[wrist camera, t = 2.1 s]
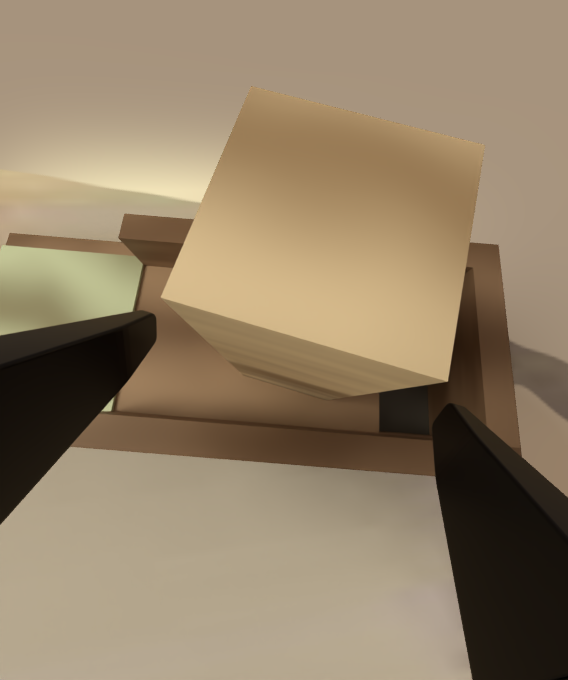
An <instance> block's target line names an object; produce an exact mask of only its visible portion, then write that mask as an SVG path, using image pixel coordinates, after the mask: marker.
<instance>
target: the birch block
mask: <svg viewBox="0 0 568 680" xmlns="http://www.w3.org/2000/svg"><path fill="white" fill-rule="evenodd" d="M484 148H485V145H482V144H478V143H474V142H471V141H467V140H463V139H459V138H454V137H451V136H447V135H443V134H439V133H435V132H431V131H427V130H423V129H419V128H415V127H411V126H407V125H403V124H399V123H395V122H391V121H387V120H383V119H379V118H375V117H371V116H368V115H364V114H360V113H356V112H352V111H348V110H344V109H340V108H336V107H331V106H328V105H324V104H320V103H316V102H312V101H308V100H304V99H300V98H296V97H292V96H288V95H284V94H280V93H276V92H272V91H268V90H264V89H260V88H257V87H253V86H251V88H250V90H249V93H248V95H247V97H246V100H245V102H244V104H243V107H242V109H241V111H240V114H239V116H238V118H237V121H236V123H235V125H234V127H233V130H232V132H231V135H230V137H229V139H228V142H227V144H226V146H225V148H224V151H223V153H222V155H221V158H220V160H219V162H218V165H217V167H216V169H215V172H214V174H213V176H212V179H211V181H210V184H209V186H208V188H207V191H206V193H205V195H204V198H203V200H202V202H201V204H200V207H199V209H198V211H197V214H196V216H195V218H194V221H193V223H192V225H191V228H190V230H189V232H188V235H187V237H186V239H185V242H184V244H183V246H182V249H181V251H180V253H179V256H178V258H177V260H176V263H175V265H174V267H173V270H172V272H171V274H170V277H169V279H168V281H167V284H166V286H165V288H164V291H163V293H162V295H161V298H162V299H163V300H164V301H165V302H166V303H167V304H168V305H169V306H170V307H171V308H172V309H173V310H174V311H175V312H176V313H177V314H178V315H180V316H181V317H182V318H183V319H184V320H185V321H186V322H187V323H188V324H189V325H190V326H191V327H192V328H193V329H194V330H195V331H196V332H198V333H199V334H200V335H201V336H202V337H203V338H204V339H205V340H206V341H207V342H208V343H209V344H210V345H211V346H212V347H213V348H215V349H216V350H217V351H218V352H219V353H220V354H221V355H222V356H223V357H224V358H225V359H226V360H227V361H228V362H229V363H230V364H231V365H233V366H234V367H235V368H236V369H237V370H238V371H239V372H240V373H241V374H242V375H243V376H246V377H250V378H253V379H256V380H260V381H263V382H266V383H270V384H273V385H276V386H280V387H283V388H286V389H289V390H293V391H296V392H299V393H303V394H306V395H309V396H313V397H316V398H319V399H323V400H332V399H339V398H345V397H352V396H358V395H365V394H371V393H378V392H384V391H391V390H397V389H404V388H410V387H417V386H423V385H430V384H436V383H442V382H448V377H449V371H450V364H451V358H452V352H453V345H454V339H455V333H456V326H457V320H458V314H459V307H460V301H461V294H462V288H463V282H464V275H465V269H466V263H467V256H468V250H469V244H470V237H471V231H472V224H473V218H474V212H475V205H476V199H477V192H478V186H479V180H480V173H481V167H482V161H483V154H484Z"/></svg>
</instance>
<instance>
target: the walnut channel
mask: <svg viewBox="0 0 568 680" xmlns="http://www.w3.org/2000/svg"><path fill="white" fill-rule="evenodd" d="M193 221H194V219H182V218H170V217H158V216H146V215H134V214H124V217H123V221H122V226H121V230H120V234H119V239H120V240H121V241H122V242H112V241H100V240H88V239H76V238H64V237H51V236H39V235H27V234H15V233H10V234H9V237H8V240H7V243H6V245H2V247H1V250H0V335H5V334H10V333H16V332H21V331H27V330H33V329H38V328H44V327H49V326H55V325H60V324H66V323H71V322H77V321H83V320H88V319H94V318H99V317H105V316H110V315H116V314H121V313H127V312H133V311H138V310H144V311H147V312H151V313H153V314H155V316H156V320H157V339H156V342H155V344H154V345H153V347H152V348H151V350H150V351H149V353H148V354H147V355H146V357H145V358H144V360H143V361H142V362H141V364H140V365H139V367H138V368H137V369H136V371H135V372H134V374H133V375H132V376H131V378H130V379H129V380H128V382H127V383H126V384H125V385H124V386H123V388H122V389H121V390H120V391H119V392H118V393H117V394H116V395H115V396H114V398H113V399H112V400H111V401H110V402H109V403H108V404H107V405H106V407H105V408H104V409H103V410H102V411H101V412H100V413H99V414H98V416H97V417H96V418H95V419H94V420H93V421H92V422H91V423H90V425H89V426H88V427H87V428H86V429H85V430H84V431H83V432H82V434H81V435H80V436H79V437H78V438H77V439H76V440H75V441H74V443H73V444H72V445H71V446H70V447H81V448H94V449H106V450H118V451H131V452H143V453H155V454H168V455H180V456H192V457H205V458H217V459H230V460H242V461H254V462H267V463H279V464H291V465H304V466H316V467H328V468H341V469H353V470H365V471H378V472H390V473H402V474H415V475H427V476H435V467H434V453H433V439H432V424H433V422H434V420H435V419H436V417H437V416H438V415H439V413H440V412H441V411H442V409H443V408H444V407H445V405H446V404H448V403H454V404H457V405H461V406H464V407H465V408H467V409H468V410H469V411H470V412H471V413H472V414H473V415H475V416H476V417H477V418H478V419H479V420H480V421H481V422H483V423H484V424H485V425H486V426H487V427H488V428H489V429H490V430H492V431H493V432H494V433H495V434H496V435H497V436H498V437H500V438H501V439H502V440H503V441H504V442H505V443H506V444H507V445H509V446H510V447H511V448H512V449H513V450H514V451H515V452H517V453H518V454H519V455H520V456H521V457H522V455H521V445H520V437H519V427H518V418H517V410H516V400H515V391H514V382H513V373H512V364H511V355H510V346H509V337H508V328H507V319H506V310H505V301H504V292H503V282H502V274H501V265H500V256H499V247H498V245H493V244H481V243H470V244H469V250H468V256H467V263H466V269H465V275H464V282H463V288H462V294H461V301H460V307H459V314H458V320H457V326H456V333H455V339H454V345H453V352H452V358H451V364H450V371H449V377H448V382H442V383H436V384H430V385H423V386H417V387H410V388H404V389H397V390H391V391H384V392H378V393H371V394H365V395H358V396H352V397H345V398H339V399H332V400H323V399H319V398H316V397H313V396H309V395H306V394H303V393H299V392H296V391H293V390H289V389H286V388H283V387H280V386H276V385H273V384H270V383H266V382H263V381H260V380H256V379H253V378H250V377H246V376H243V375H242V374H241V373H240V372H239V371H238V370H237V369H236V368H235V367H234V366H233V365H231V364H230V363H229V362H228V361H227V360H226V359H225V358H224V357H223V356H222V355H221V354H220V353H219V352H218V351H217V350H216V349H215V348H213V347H212V346H211V345H210V344H209V343H208V342H207V341H206V340H205V339H204V338H203V337H202V336H201V335H200V334H199V333H198V332H196V331H195V330H194V329H193V328H192V327H191V326H190V325H189V324H188V323H187V322H186V321H185V320H184V319H183V318H182V317H181V316H180V315H178V314H177V313H176V312H175V311H174V310H173V309H172V308H171V307H170V306H169V305H168V304H167V303H166V302H165V301H164V300H163V299H162V298H161V295H162V293H163V291H164V288H165V286H166V284H167V281H168V279H169V277H170V274H171V272H172V270H173V267H174V265H175V263H176V260H177V258H178V256H179V253H180V251H181V249H182V246H183V244H184V242H185V239H186V237H187V235H188V232H189V230H190V228H191V225H192V223H193Z"/></svg>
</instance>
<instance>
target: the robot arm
mask: <svg viewBox="0 0 568 680" xmlns="http://www.w3.org/2000/svg"><path fill="white" fill-rule="evenodd" d="M156 339H157V320H156V316H155V314H153V313H151V312H147V311H144V310H138V311H133V312H127V313H121V314H116V315H110V316H105V317H99V318H94V319H88V320H83V321H77V322H71V323H66V324H60V325H55V326H49V327H44V328H38V329H33V330H27V331H21V332H16V333H10V334H5V335H0V524H1V523H2V522H3V521H4V520H5V519H6V518H7V517H8V516H9V514H10V513H11V512H12V511H13V510H14V509H15V508H16V507H17V505H18V504H19V503H20V502H21V501H22V500H23V499H24V498H25V496H26V495H27V494H28V493H29V492H30V491H31V490H32V489H33V487H34V486H35V485H36V484H37V483H38V482H39V481H40V480H41V478H42V477H43V476H44V475H45V474H46V473H47V472H48V471H49V469H50V468H51V467H52V466H53V465H54V464H55V463H56V462H57V460H58V459H59V458H60V457H61V456H62V455H63V454H64V453H65V452H66V450H67V449H68V448H69V447H70V446H71V445H72V444H73V443H74V441H75V440H76V439H77V438H78V437H79V436H80V435H81V434H82V432H83V431H84V430H85V429H86V428H87V427H88V426H89V425H90V423H91V422H92V421H93V420H94V419H95V418H96V417H97V416H98V414H99V413H100V412H101V411H102V410H103V409H104V408H105V407H106V405H107V404H108V403H109V402H110V401H111V400H112V399H113V398H114V396H115V395H116V394H117V393H118V392H119V391H120V390H121V389H122V388H123V386H124V385H125V384H126V383H127V382H128V380H129V379H130V378H131V376H132V375H133V374H134V372H135V371H136V369H137V368H138V367H139V365H140V364H141V362H142V361H143V360H144V358H145V357H146V355H147V354H148V353H149V351H150V350H151V348H152V347H153V345H154V344H155V342H156ZM432 439H433V453H434V467H435V477H436V484H437V490H438V495H439V501H440V506H441V511H442V517H443V522H444V528H445V533H446V538H447V544H448V549H449V555H450V560H451V566H452V571H453V576H454V582H455V587H456V593H457V598H458V603H459V609H460V614H461V620H462V625H463V631H464V636H465V641H466V647H467V652H468V658H469V663H470V669H471V674H472V679H473V680H568V497H566V496H565V495H564V494H563V493H562V492H561V491H560V490H559V489H557V488H556V487H555V486H554V485H553V484H552V483H550V482H549V481H548V480H547V479H546V478H545V477H544V476H543V475H541V474H540V473H539V472H538V471H537V470H536V469H535V468H534V467H532V466H531V465H530V464H529V463H528V462H527V461H526V460H524V459H523V458H522V457H521V456H520V455H519V454H518V453H517V452H515V451H514V450H513V449H512V448H511V447H510V446H509V445H507V444H506V443H505V442H504V441H503V440H502V439H501V438H500V437H498V436H497V435H496V434H495V433H494V432H493V431H492V430H490V429H489V428H488V427H487V426H486V425H485V424H484V423H483V422H481V421H480V420H479V419H478V418H477V417H476V416H475V415H473V414H472V413H471V412H470V411H469V410H468V409H467V408H465V407H464V406H461V405H457V404H454V403H448V404H446V405H445V407H444V408H443V409H442V411H441V412H440V413H439V415H438V416H437V417H436V419H435V420H434V422H433V424H432Z"/></svg>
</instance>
